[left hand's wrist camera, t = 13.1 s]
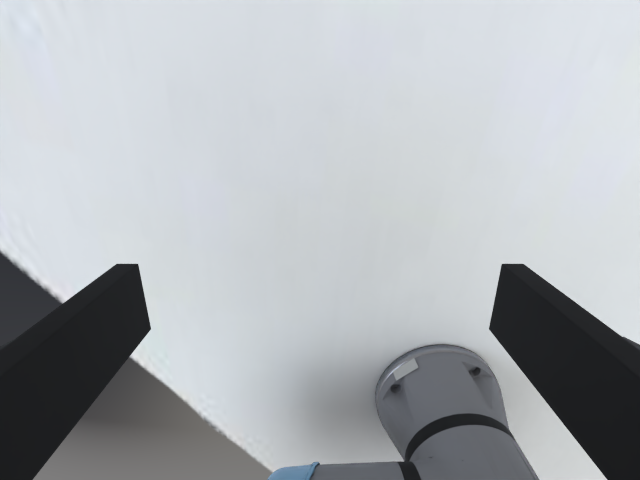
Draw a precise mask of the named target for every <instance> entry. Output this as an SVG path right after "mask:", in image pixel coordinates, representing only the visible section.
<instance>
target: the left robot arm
mask: <svg viewBox="0 0 640 480" xmlns="http://www.w3.org/2000/svg"><path fill="white" fill-rule="evenodd" d="M150 330H151V327H150V322H149V317H148V312H147V307H146V302H145V297H144V292H143V287H142V281H141V276H140V271H139V266H138V264H116V265H115V266H113V267H112V268H111V269H109V270H108V271H107V272H105V273H104V274H103V275H101V276H100V277H98V278H97V279H96V280H94V281H93V282H92V283H90V284H89V285H88V286H86V287H85V288H84V289H82V290H81V291H80V292H78V293H77V294H75V295H74V296H73V297H71V298H70V299H69V300H67V301H66V302H65V303H63V304H62V305H61V306H59V307H58V308H57V309H55V310H54V311H53V312H51V313H50V314H48V315H47V316H46V317H44V318H43V319H42V320H40V321H39V322H38V323H36V324H35V325H34V326H32V327H31V328H30V329H28V330H27V331H25V332H24V333H23V334H21V335H20V336H19V337H17V338H16V339H14V340H12V341H10V342H8V343H6V344H4V345H2V346H0V480H33V478H34V477H35V476H36V475H37V473H38V472H39V471H40V469H41V468H42V467H43V466H44V464H45V463H46V462H47V461H48V459H49V458H50V457H51V455H52V454H53V453H54V452H55V450H56V449H57V448H58V447H59V445H60V444H61V443H62V441H63V440H64V439H65V438H66V436H67V435H68V434H69V433H70V431H71V430H72V429H73V427H74V426H75V425H76V424H77V422H78V421H79V420H80V419H81V417H82V416H83V415H84V413H85V412H86V411H87V410H88V408H89V407H90V406H91V404H92V403H93V402H94V401H95V399H96V398H97V397H98V396H99V394H100V393H101V392H102V391H103V389H104V388H105V387H106V385H107V384H108V383H109V382H110V380H111V379H112V378H113V377H114V375H115V374H116V373H117V371H118V370H119V369H120V368H121V366H122V365H123V364H124V363H125V361H126V360H127V359H128V357H129V356H130V355H131V354H132V352H133V351H134V350H135V349H136V347H137V346H138V345H139V344H140V342H141V341H142V340H143V338H144V337H145V336H146V335H147V333H148V332H149V331H150ZM489 330H490V331H491V332H492V333H493V335H494V336H495V337H496V338H497V340H498V341H499V342H500V344H501V345H502V346H503V347H504V349H505V350H506V351H507V352H508V354H509V355H510V356H511V357H512V359H513V360H514V361H515V363H516V364H517V365H518V366H519V368H520V369H521V370H522V371H523V373H524V374H525V375H526V377H527V378H528V379H529V380H530V382H531V383H532V384H533V385H534V387H535V388H536V389H537V391H538V392H539V393H540V394H541V396H542V397H543V398H544V399H545V401H546V402H547V403H548V405H549V406H550V407H551V408H552V410H553V411H554V412H555V413H556V415H557V416H558V417H559V419H560V420H561V421H562V422H563V424H564V425H565V426H566V427H567V429H568V430H569V431H570V433H571V434H572V435H573V436H574V438H575V439H576V440H577V441H578V443H579V444H580V445H581V447H582V448H583V449H584V450H585V452H586V453H587V454H588V455H589V457H590V458H591V459H592V461H593V462H594V463H595V464H596V466H597V467H598V468H599V469H600V471H601V472H602V473H603V475H604V476H605V477H606V478H607V480H640V345H639V344H637V343H635V342H633V341H631V340H629V339H627V338H625V337H621V336H620V335H619V334H617V333H616V332H615V331H613V330H612V329H611V328H609V327H608V326H606V325H605V324H604V323H602V322H601V321H600V320H598V319H597V318H596V317H594V316H593V315H592V314H590V313H589V312H588V311H586V310H585V309H583V308H582V307H581V306H579V305H578V304H577V303H575V302H574V301H573V300H571V299H570V298H569V297H567V296H566V295H565V294H563V293H562V292H560V291H559V290H558V289H556V288H555V287H554V286H552V285H551V284H550V283H548V282H547V281H546V280H544V279H543V278H542V277H540V276H539V275H537V274H536V273H535V272H533V271H532V270H531V269H529V268H528V267H527V266H525V265H524V264H502V266H501V271H500V276H499V281H498V287H497V292H496V297H495V302H494V307H493V312H492V317H491V322H490V327H489ZM375 398H376V405H377V411H378V415H379V418H380V420H381V423H382V425H383V427H384V429H385V430H386V432H387V434H388V435H389V437H390V438H391V440H392V442H393V443H394V445H395V446H396V448H397V450H398V451H399V453H400V454H401V456H402V458H403V459H404V461H405V462H375V463H351V464H327V465H320V463H319V462H314V463H313V464H312V465H304V466H294V467H284V468H280V469H278V470H276V471H275V472H274V473H272V474H271V475H270V477H269V478H268V479H267V480H539V478H538V477H537V475H536V473H535V472H534V470H533V468H532V467H531V465H530V463H529V462H528V460H527V459H526V457H525V455H524V454H523V452H522V450H521V449H520V447H519V445H518V444H517V442H516V441H515V439H514V437H513V435H512V434H511V432H510V430H509V427H508V422H507V418H506V413H505V408H504V403H503V398H502V394H501V389H500V387H499V384H498V382H497V379H496V377H495V375H494V374H493V372H492V371H491V369H490V368H489V366H488V365H487V364H486V362H485V361H484V360H483V359H482V358H480V357H479V356H478V355H476V354H475V353H473V352H471V351H469V350H467V349H464V348H461V347H457V346H451V345H433V346H427V347H422V348H419V349H416V350H413V351H411V352H409V353H406V354H405V355H403V356H401V357H400V358H398V359H397V360H396V361H394V362H393V363H392V364H391V365H390V366H389V367H388V368H387V369H386V370H385V372H384V373H383V374H382V376H381V378H380V380H379V382H378V385H377V388H376V397H375Z"/></svg>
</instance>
